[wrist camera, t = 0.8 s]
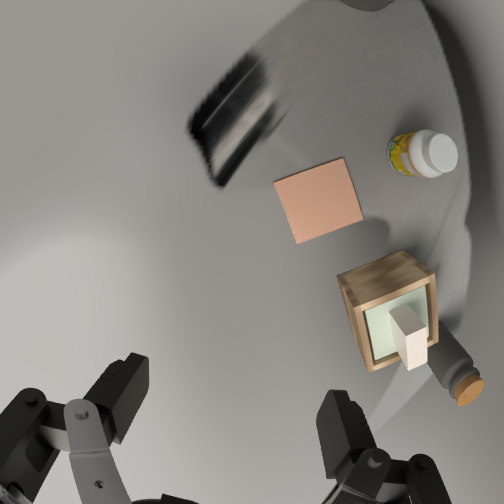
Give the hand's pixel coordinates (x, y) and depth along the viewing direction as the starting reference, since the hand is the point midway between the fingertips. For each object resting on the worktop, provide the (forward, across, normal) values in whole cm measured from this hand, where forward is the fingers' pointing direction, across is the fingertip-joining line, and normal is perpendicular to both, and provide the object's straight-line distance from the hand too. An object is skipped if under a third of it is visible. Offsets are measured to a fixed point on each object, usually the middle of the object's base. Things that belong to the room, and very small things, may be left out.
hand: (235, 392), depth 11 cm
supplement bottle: (+23, -16, -17) cm, 33 cm away
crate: (+25, -18, +2) cm, 31 cm away
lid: (+17, -18, +2) cm, 25 cm away
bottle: (+25, -31, +8) cm, 41 cm away
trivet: (+24, -7, -9) cm, 26 cm away
